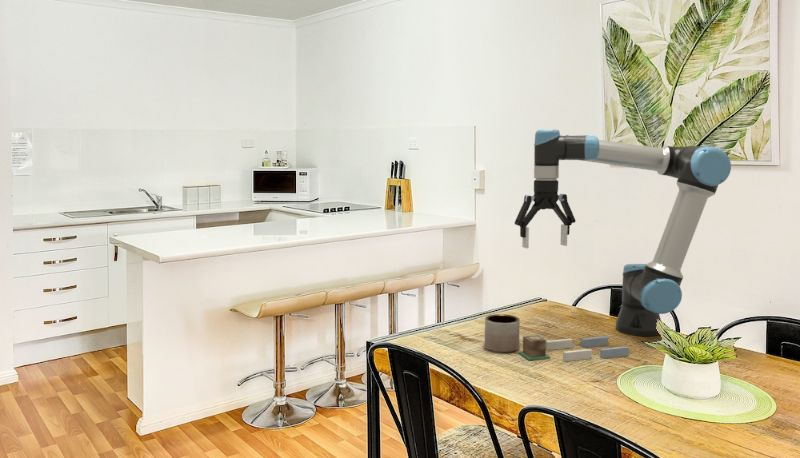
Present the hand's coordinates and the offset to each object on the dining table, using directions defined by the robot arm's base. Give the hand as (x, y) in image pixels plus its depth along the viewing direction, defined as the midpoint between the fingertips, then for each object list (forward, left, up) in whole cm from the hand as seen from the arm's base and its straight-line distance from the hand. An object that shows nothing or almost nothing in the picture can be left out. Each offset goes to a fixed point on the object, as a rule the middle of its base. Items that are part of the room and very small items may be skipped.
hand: (544, 246), depth 208 cm
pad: (+9, +11, -31) cm, 35 cm away
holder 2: (-14, +13, -31) cm, 37 cm away
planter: (+15, +1, -32) cm, 35 cm away
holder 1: (-2, +12, -31) cm, 34 cm away
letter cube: (+9, +12, -31) cm, 34 cm away
